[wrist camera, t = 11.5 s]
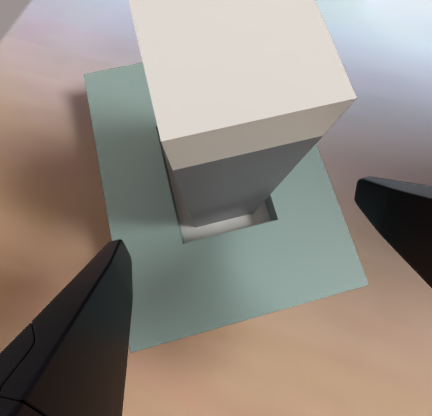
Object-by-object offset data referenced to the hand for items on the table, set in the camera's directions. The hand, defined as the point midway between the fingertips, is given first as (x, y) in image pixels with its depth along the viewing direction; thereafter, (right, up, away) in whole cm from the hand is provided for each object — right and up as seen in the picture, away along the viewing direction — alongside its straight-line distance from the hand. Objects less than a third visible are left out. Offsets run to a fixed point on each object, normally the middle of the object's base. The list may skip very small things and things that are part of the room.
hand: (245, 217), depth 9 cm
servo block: (-1, +2, +8) cm, 8 cm away
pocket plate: (-1, +2, +9) cm, 9 cm away
